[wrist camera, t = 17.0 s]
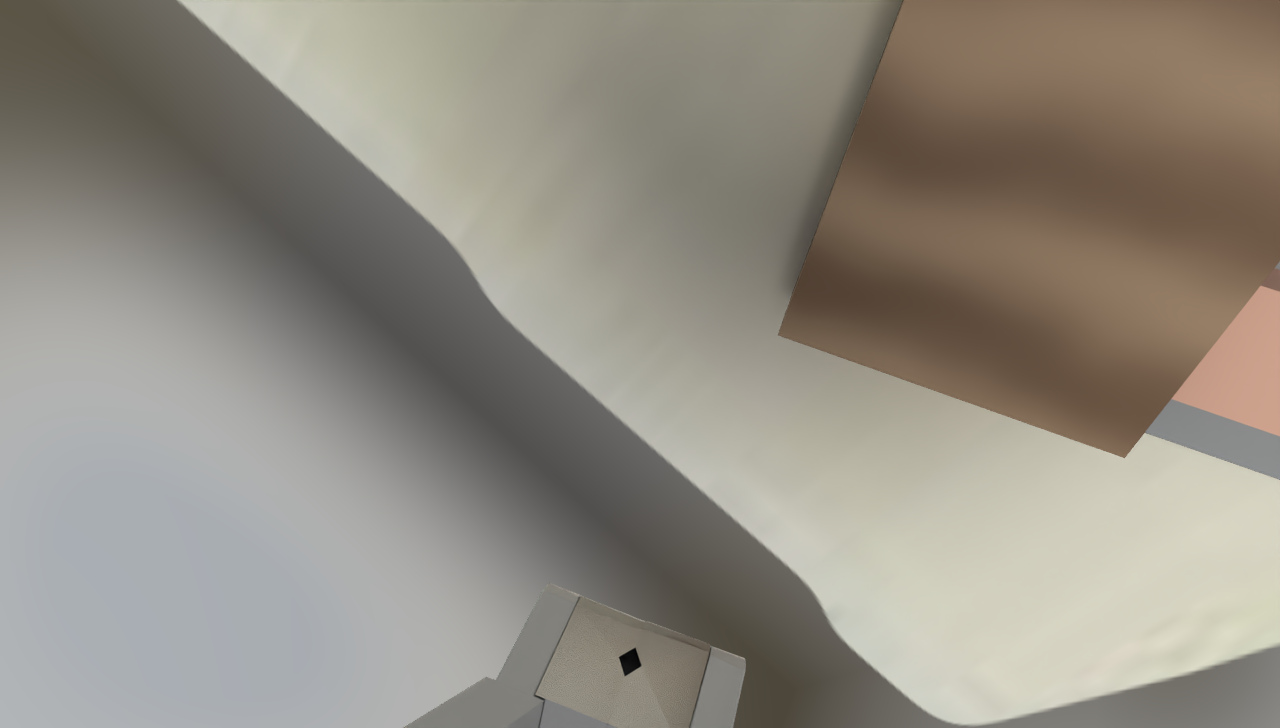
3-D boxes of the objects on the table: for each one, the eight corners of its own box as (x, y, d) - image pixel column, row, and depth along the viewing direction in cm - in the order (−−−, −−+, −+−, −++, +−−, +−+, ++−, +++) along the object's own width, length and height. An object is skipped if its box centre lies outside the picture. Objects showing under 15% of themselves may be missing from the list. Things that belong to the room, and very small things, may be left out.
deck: (987, -224, 24) (994, -241, 21) (1477, -109, 22) (1570, -107, 19) (792, 292, 35) (777, 335, 32) (1106, 401, 33) (1124, 457, 30)
